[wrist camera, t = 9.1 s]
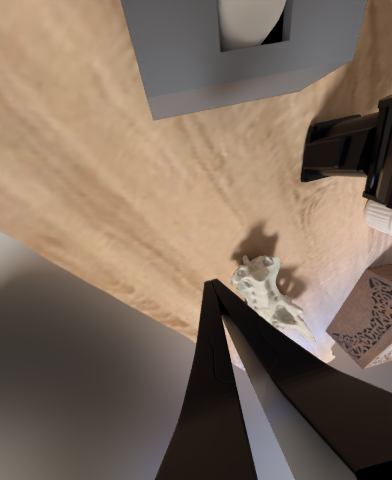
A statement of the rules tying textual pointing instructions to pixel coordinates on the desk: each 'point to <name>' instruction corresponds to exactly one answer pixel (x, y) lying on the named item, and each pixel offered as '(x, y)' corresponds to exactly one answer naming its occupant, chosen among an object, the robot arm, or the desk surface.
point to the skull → (268, 294)
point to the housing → (235, 52)
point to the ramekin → (378, 216)
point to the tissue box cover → (367, 319)
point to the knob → (246, 22)
